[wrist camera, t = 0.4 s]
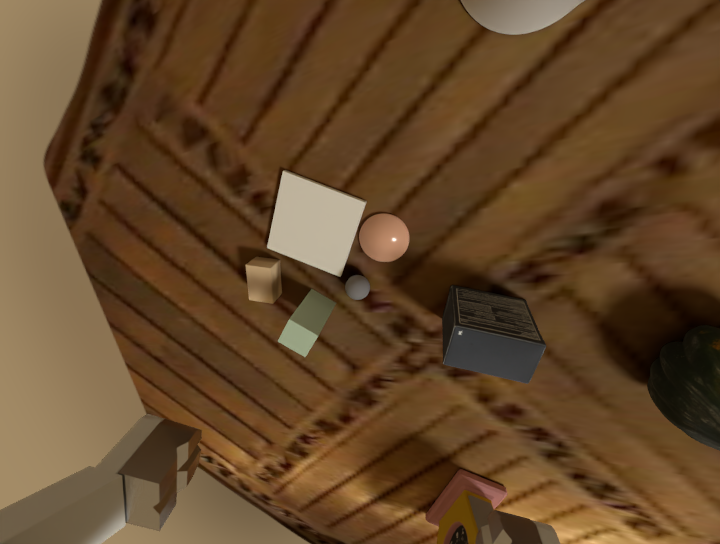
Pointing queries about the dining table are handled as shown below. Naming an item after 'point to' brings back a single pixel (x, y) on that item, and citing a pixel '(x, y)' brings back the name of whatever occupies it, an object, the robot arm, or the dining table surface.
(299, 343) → the sage block
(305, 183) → the beige mat
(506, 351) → the small box
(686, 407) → the squash
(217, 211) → the dining table surface
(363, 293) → the rubber ball
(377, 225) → the peach flat disc
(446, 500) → the retro mantel clock
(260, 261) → the oak block
